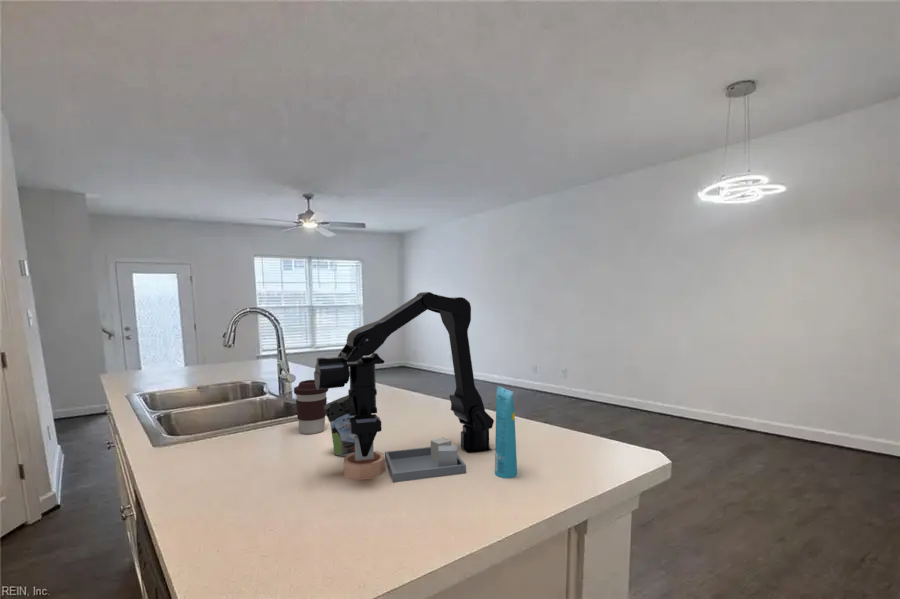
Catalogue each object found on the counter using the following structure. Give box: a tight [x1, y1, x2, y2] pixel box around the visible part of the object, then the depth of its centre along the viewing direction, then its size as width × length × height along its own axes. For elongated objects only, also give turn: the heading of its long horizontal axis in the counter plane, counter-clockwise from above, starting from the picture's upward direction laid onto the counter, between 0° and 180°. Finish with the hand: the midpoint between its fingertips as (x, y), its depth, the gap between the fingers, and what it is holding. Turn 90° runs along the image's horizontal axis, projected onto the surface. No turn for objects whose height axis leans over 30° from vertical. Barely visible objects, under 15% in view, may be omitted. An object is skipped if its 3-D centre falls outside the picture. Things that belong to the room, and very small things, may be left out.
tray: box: [384, 446, 467, 483], centre depth 102 cm, size 16×14×2 cm
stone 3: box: [438, 444, 458, 467], centre depth 100 cm, size 4×4×5 cm
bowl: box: [343, 450, 386, 481], centre depth 100 cm, size 9×9×4 cm
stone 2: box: [430, 436, 452, 462], centre depth 106 cm, size 4×3×4 cm
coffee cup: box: [293, 379, 329, 435], centre depth 133 cm, size 10×10×15 cm
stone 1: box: [354, 434, 375, 461], centre depth 99 cm, size 4×4×5 cm
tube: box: [494, 385, 518, 479], centre depth 97 cm, size 7×5×19 cm, turn 26°
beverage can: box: [329, 414, 355, 457], centre depth 112 cm, size 6×7×12 cm
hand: (364, 453), depth 100 cm, fingers closed on stone 1, 3 cm apart
